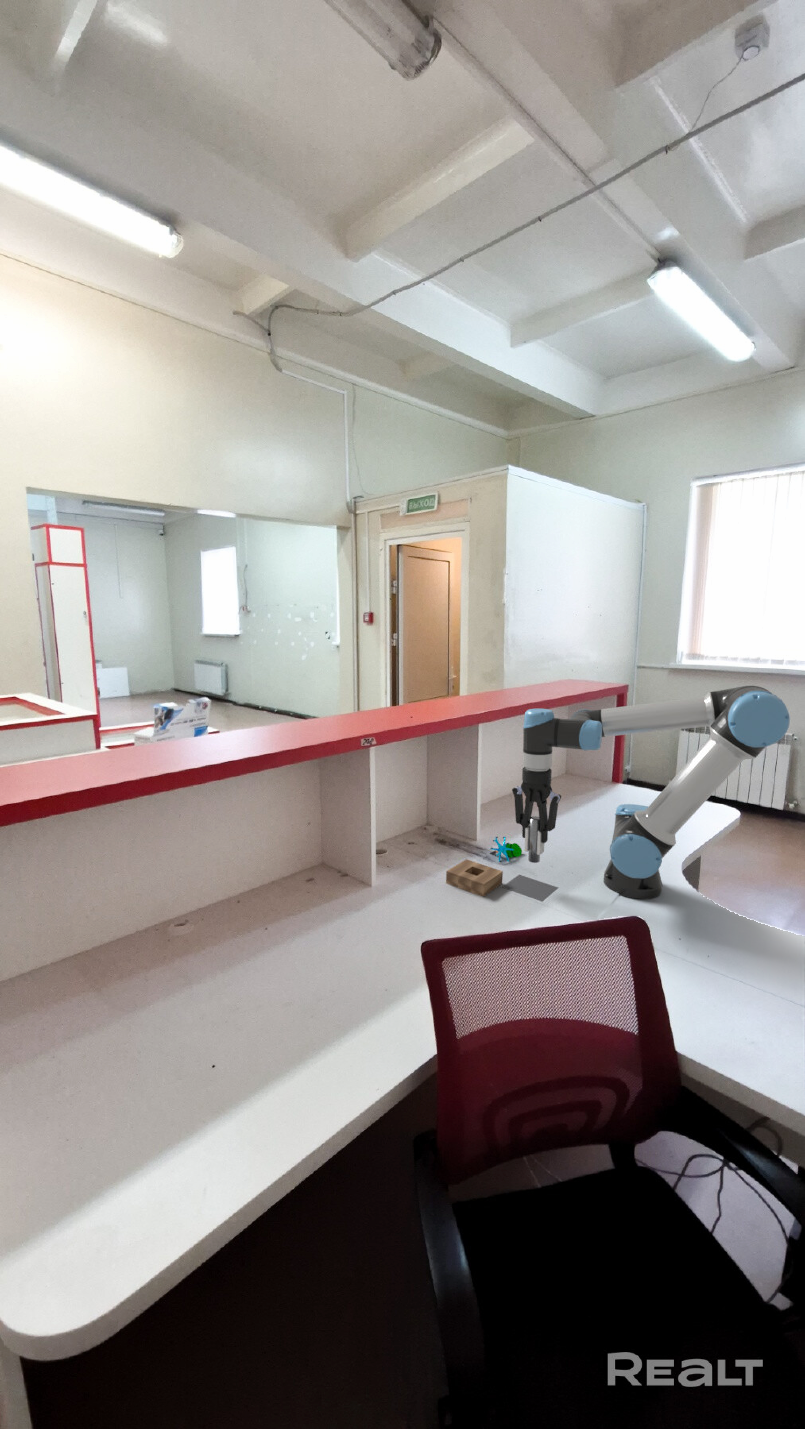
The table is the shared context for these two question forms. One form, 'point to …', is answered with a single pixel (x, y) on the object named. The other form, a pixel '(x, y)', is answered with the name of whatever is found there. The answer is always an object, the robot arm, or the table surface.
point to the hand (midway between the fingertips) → (534, 851)
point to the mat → (530, 887)
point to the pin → (533, 839)
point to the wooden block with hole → (474, 877)
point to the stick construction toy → (507, 849)
